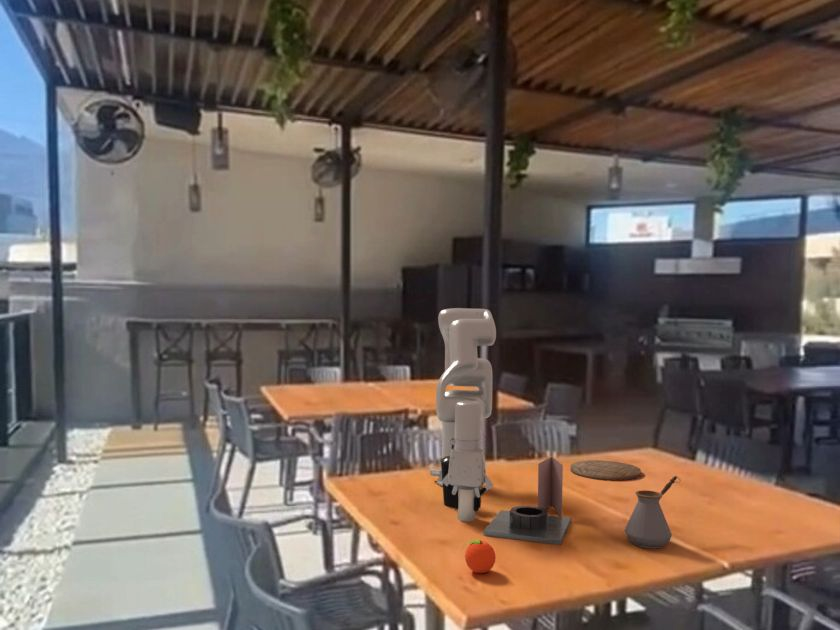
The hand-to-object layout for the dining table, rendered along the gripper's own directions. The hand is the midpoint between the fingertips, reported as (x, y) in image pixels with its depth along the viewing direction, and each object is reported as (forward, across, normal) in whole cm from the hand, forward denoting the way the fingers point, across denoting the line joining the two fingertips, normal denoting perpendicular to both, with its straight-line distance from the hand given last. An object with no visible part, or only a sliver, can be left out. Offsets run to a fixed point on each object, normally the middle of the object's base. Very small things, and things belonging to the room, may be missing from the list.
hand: (466, 508), depth 198 cm
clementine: (+3, +13, -37) cm, 39 cm away
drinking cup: (+3, -8, +12) cm, 15 cm away
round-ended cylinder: (+3, 0, 0) cm, 3 cm away
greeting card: (+3, +22, +16) cm, 27 cm away
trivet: (+4, +32, +73) cm, 80 cm away
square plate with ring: (+3, +18, -2) cm, 18 cm away
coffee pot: (+3, +51, +2) cm, 51 cm away
